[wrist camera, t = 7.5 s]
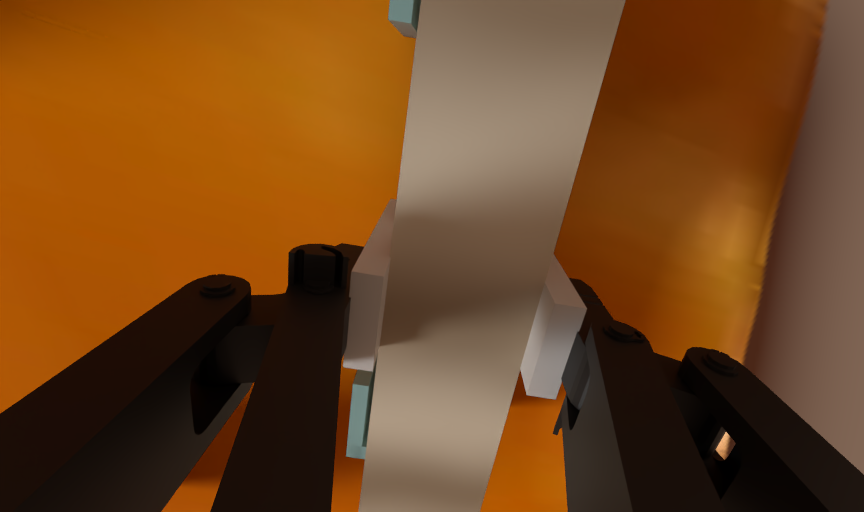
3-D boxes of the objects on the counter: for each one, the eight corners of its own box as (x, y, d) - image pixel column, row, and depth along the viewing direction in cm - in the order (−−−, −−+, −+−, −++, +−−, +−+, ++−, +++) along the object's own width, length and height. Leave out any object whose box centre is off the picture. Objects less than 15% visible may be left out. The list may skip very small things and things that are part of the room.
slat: (447, -62, 13) (443, -184, 7) (572, -41, 13) (666, -144, 7) (380, 425, 20) (353, 551, 15) (460, 437, 20) (463, 568, 15)
